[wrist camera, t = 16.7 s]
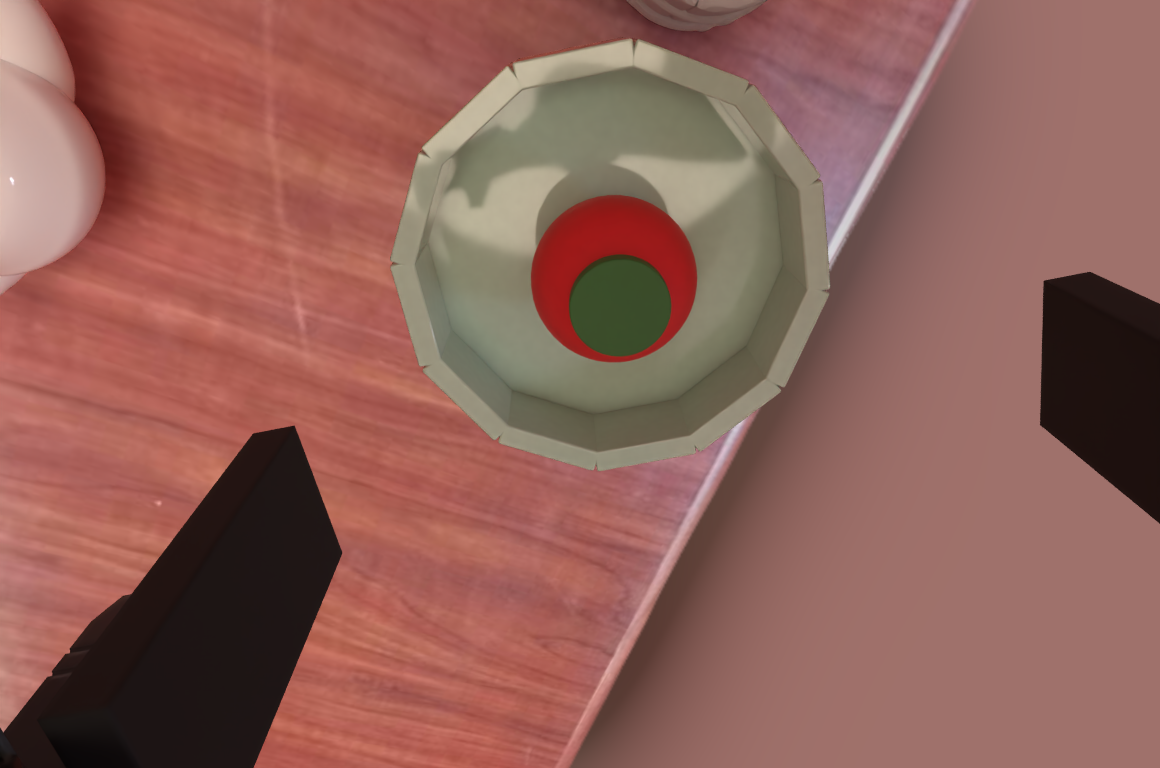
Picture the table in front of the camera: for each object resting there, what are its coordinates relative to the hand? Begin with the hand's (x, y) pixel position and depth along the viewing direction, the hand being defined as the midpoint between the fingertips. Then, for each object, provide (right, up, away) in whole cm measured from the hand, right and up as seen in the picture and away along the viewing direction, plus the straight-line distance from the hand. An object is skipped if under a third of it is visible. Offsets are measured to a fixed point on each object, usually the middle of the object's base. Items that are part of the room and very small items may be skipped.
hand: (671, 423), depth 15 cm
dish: (-1, +11, +28) cm, 30 cm away
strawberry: (-1, +5, +15) cm, 16 cm away
